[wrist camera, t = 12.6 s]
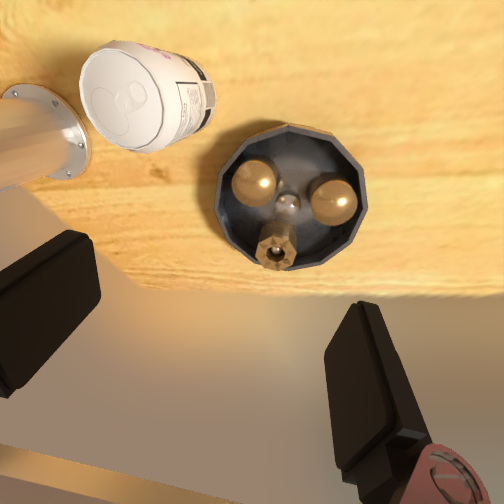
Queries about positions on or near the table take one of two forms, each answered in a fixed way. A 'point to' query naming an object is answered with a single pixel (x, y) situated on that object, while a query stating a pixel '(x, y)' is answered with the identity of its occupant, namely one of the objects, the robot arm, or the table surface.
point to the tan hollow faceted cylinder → (280, 237)
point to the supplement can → (145, 95)
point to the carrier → (292, 193)
